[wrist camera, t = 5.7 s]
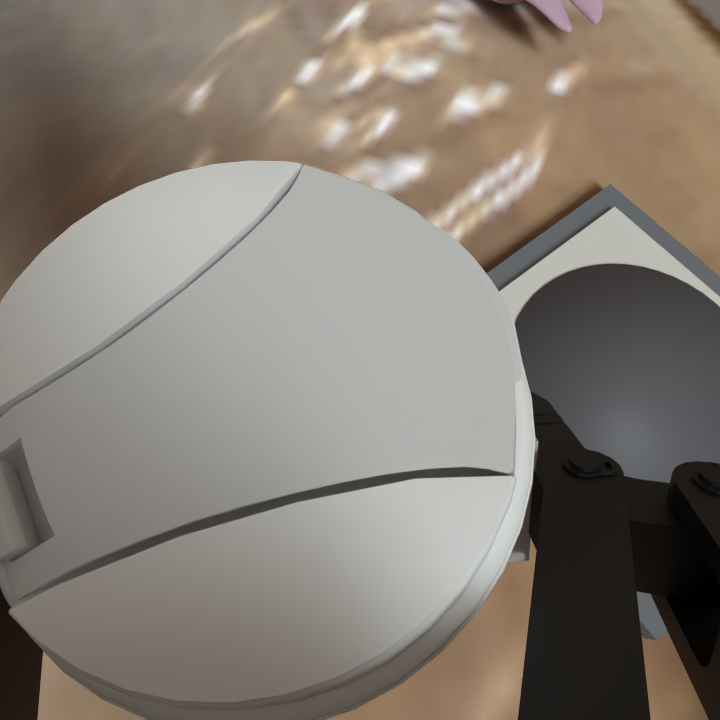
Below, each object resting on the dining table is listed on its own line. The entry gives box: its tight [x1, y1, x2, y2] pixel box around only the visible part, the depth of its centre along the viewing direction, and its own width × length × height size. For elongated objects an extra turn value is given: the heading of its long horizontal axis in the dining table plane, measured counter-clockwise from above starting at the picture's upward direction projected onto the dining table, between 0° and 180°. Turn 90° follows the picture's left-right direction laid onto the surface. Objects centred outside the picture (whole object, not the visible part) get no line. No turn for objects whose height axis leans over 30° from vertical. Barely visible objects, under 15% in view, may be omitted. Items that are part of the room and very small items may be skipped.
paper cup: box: [0, 161, 535, 720], centre depth 13 cm, size 8×8×14 cm
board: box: [486, 184, 720, 640], centre depth 21 cm, size 13×12×1 cm
